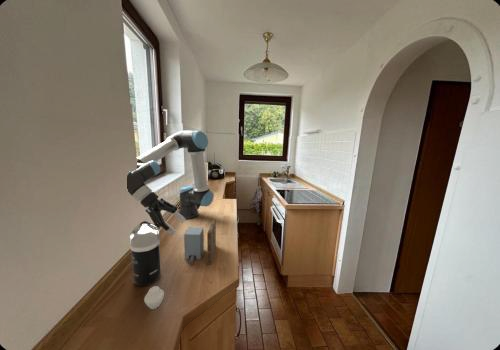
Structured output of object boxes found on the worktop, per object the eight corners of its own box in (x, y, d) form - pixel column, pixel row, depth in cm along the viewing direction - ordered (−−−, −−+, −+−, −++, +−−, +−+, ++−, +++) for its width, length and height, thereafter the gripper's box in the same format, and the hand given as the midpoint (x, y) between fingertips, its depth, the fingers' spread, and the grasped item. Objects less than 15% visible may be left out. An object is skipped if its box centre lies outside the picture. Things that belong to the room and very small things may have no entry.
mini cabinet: (189, 249, 97) (189, 226, 95) (203, 249, 98) (203, 227, 96) (184, 259, 89) (184, 234, 87) (200, 259, 90) (199, 234, 88)
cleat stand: (197, 245, 101) (196, 218, 99) (215, 245, 102) (215, 218, 99) (188, 264, 86) (187, 232, 83) (210, 264, 86) (210, 232, 83)
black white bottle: (141, 291, 69) (137, 230, 65) (128, 280, 74) (123, 222, 70) (166, 275, 78) (163, 220, 74) (152, 266, 83) (149, 214, 79)
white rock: (143, 303, 64) (141, 286, 63) (162, 295, 68) (161, 278, 67) (146, 316, 59) (145, 298, 58) (166, 306, 63) (166, 288, 62)
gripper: (153, 194, 100) (182, 221, 103) (124, 211, 75) (163, 245, 78) (162, 185, 99) (191, 212, 102) (136, 199, 74) (175, 234, 78)
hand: (179, 226), depth 90 cm, fingers open, 13 cm apart
